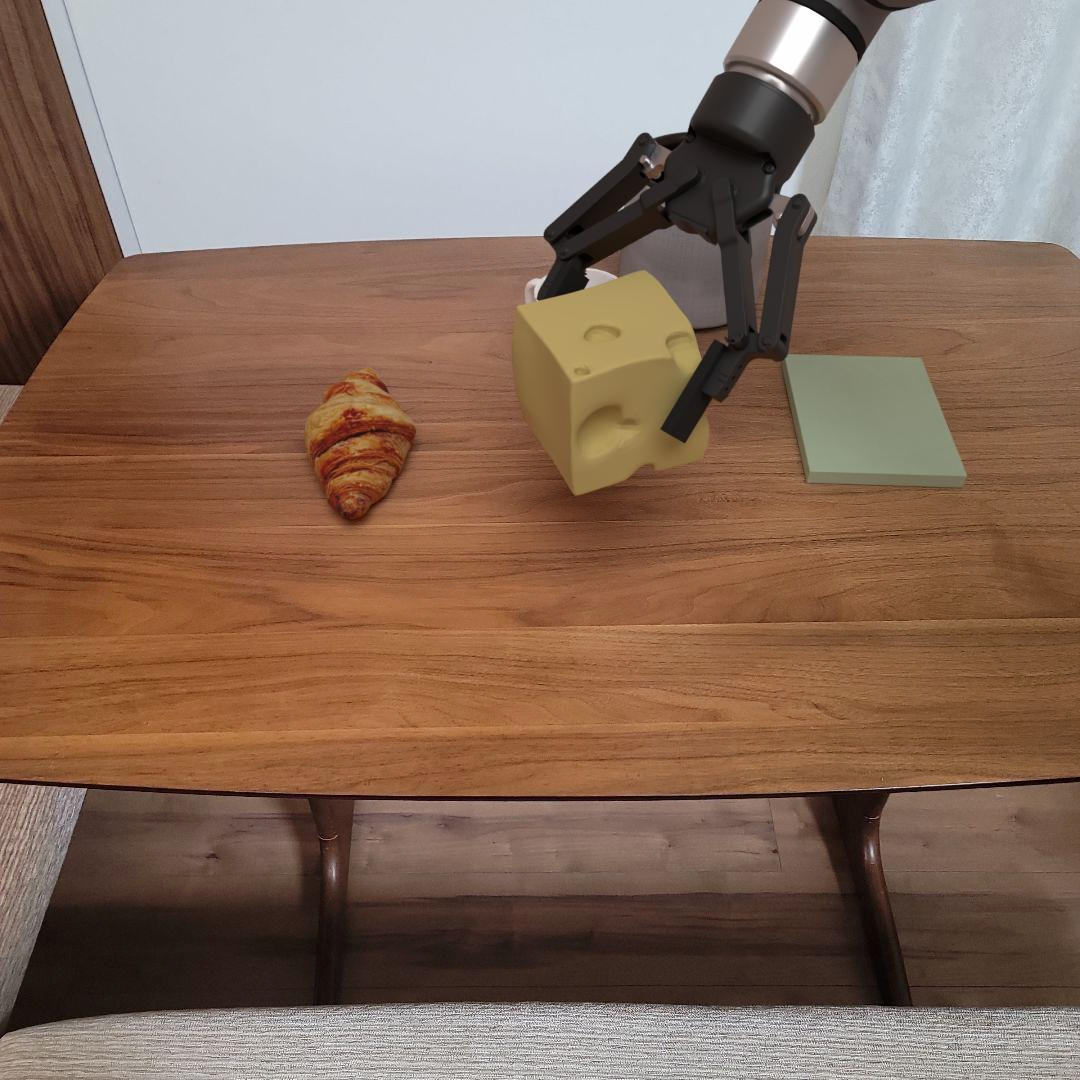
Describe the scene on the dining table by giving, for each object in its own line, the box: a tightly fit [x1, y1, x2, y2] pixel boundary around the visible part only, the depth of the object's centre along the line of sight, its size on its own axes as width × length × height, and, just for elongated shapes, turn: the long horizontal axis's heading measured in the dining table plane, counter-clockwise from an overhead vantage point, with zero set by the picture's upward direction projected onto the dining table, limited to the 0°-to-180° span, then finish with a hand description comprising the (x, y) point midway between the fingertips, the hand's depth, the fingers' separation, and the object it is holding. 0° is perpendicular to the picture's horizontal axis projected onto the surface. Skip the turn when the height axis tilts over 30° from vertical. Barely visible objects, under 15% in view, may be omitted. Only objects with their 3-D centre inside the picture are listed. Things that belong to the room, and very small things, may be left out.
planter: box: [617, 131, 774, 330], centre depth 100 cm, size 16×16×16 cm
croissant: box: [303, 366, 417, 521], centre depth 85 cm, size 21×10×8 cm, turn 5°
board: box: [781, 353, 968, 489], centre depth 90 cm, size 18×14×2 cm
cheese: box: [511, 270, 710, 497], centre depth 64 cm, size 10×11×10 cm
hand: (597, 392), depth 63 cm, fingers closed on cheese, 12 cm apart
